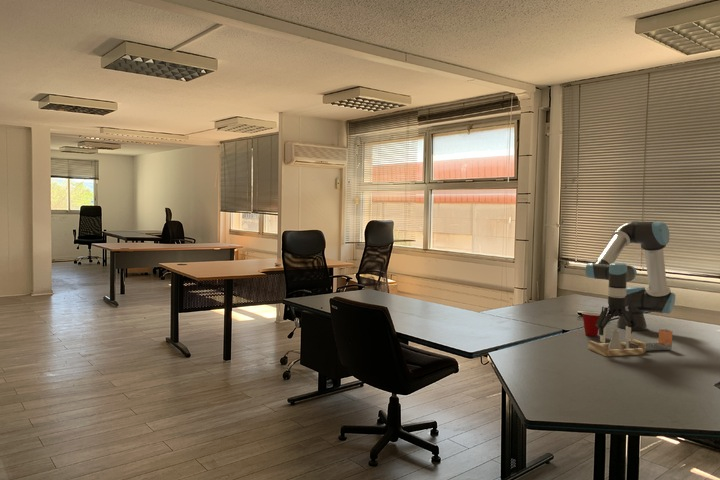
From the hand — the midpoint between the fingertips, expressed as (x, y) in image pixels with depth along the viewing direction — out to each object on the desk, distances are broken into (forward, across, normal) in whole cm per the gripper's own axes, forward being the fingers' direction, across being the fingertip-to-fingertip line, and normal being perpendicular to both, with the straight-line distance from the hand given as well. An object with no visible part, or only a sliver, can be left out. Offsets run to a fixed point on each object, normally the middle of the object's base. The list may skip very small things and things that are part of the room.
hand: (615, 341), depth 255 cm
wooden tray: (+5, -1, 0) cm, 5 cm away
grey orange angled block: (+5, -19, 0) cm, 20 cm away
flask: (+5, 0, 0) cm, 5 cm away
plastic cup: (+5, -10, -32) cm, 34 cm away
